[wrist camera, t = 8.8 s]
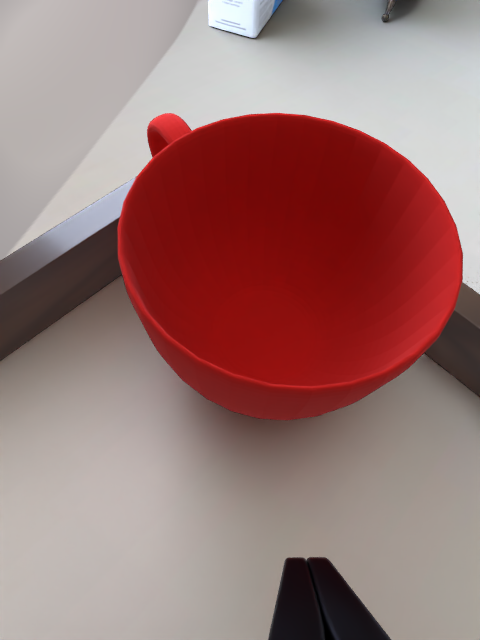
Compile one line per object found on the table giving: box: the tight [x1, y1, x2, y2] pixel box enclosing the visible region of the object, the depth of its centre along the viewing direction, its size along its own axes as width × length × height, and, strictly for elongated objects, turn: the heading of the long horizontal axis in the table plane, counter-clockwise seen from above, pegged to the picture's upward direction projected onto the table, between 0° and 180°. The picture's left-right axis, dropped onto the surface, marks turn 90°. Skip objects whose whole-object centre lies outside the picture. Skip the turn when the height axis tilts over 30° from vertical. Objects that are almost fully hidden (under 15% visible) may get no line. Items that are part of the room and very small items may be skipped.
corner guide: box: [0, 176, 480, 397], centre depth 21 cm, size 26×22×4 cm
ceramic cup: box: [117, 113, 463, 420], centre depth 21 cm, size 13×17×10 cm
